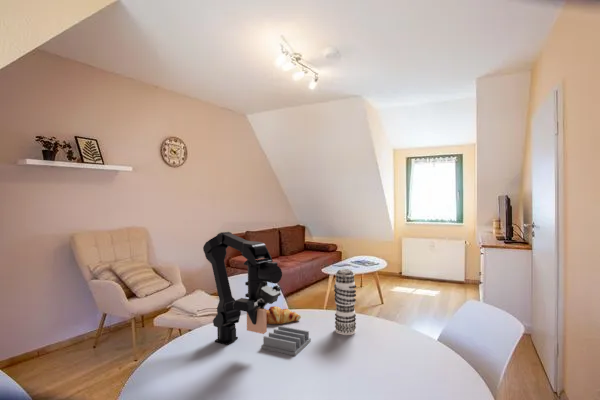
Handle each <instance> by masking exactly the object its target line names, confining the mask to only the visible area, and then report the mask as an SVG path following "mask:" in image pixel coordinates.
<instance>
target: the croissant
mask: <svg viewBox="0 0 600 400" xmlns="http://www.w3.org/2000/svg"><path fill="white" fill-rule="evenodd" d="M266 318H267V325H282V324H286V323H288V324H289V323H292V322H297V321H300V320H301V318H302V315H300V314H299V313H297V312H295V311H292V310H290V309H288V308H281V307H280V306H270V307H269V309H266Z"/></svg>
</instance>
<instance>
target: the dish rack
mask: <svg viewBox="0 0 600 400" xmlns="http://www.w3.org/2000/svg"><path fill="white" fill-rule="evenodd" d="M309 335H310V331H308V330H304V329H299V328H293V327H288V326H283V325H277V328H274V329H273V332H268V336H267V335H265V336H264V335H263V339H262V340H263V342H262V344H261V346H260V347H261V349H264V350H267V351H272V352H276V353H280V354H285V355H290V356H294V357H295V356H297V355H298V354H300V353H301V351H302V350H303V349H304V348H306V347H307V346H308V344H310V342H311V341H312V339H311V338H310V336H309Z"/></svg>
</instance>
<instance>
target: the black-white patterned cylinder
mask: <svg viewBox="0 0 600 400" xmlns="http://www.w3.org/2000/svg"><path fill="white" fill-rule="evenodd" d="M334 275H335V284H334V286H333V287H334V290H333V291H334V302H335V307H336V308H335V314H334V315H335V317H334V319H335V322H334V324H335V325H334V328H335V330H334V331H335V333H336V334H339V335H342V336H350V335H355V334H356V333H357V330H356V328H357V326H356V325H357V322H356V320H357V318H356V309H355V304H356V302H357V299H356V298H355V297H356V296H357V295H356V293H357V290H356V289H355V288H357V285H356V284H355V275H356V274H355V272H353V270H352V269H348V268H347V269H346V268H342V269H338V270H337V272H335V274H334Z"/></svg>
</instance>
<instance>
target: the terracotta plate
mask: <svg viewBox="0 0 600 400" xmlns="http://www.w3.org/2000/svg"><path fill="white" fill-rule="evenodd" d="M266 310H267V308H265V307H264V308H259V309H258V310H257V321H256V324H255V325H254V324H253V323H252V321H251V319H250V317H249V315H248V313H247V312H246V331H249V332H252V333H256V334H257V333H258V334H262V335H264V334H266V333H267V331H268V330H267V329H268V328H267V325H268V324H267V318H266Z"/></svg>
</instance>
